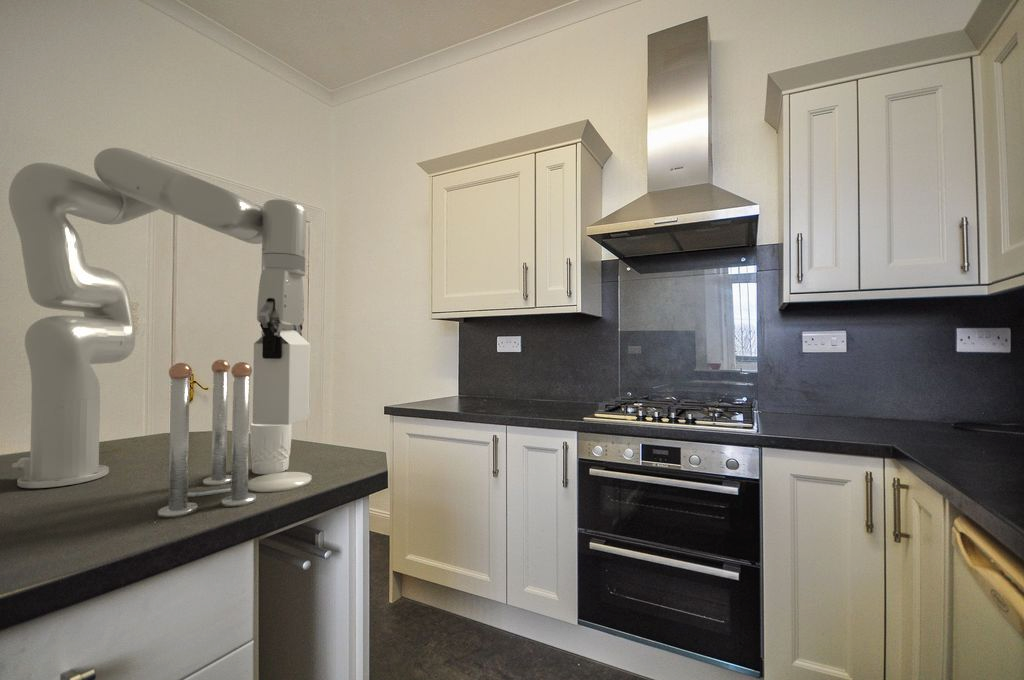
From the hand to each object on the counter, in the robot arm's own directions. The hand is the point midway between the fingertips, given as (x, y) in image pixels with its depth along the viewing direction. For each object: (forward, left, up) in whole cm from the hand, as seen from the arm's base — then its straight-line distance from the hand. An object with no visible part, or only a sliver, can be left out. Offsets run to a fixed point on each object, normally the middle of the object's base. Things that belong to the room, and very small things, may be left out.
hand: (282, 357), depth 87 cm
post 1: (-9, -15, -24) cm, 30 cm away
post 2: (-12, +1, -24) cm, 27 cm away
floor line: (-10, -5, -24) cm, 26 cm away
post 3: (-2, -10, -24) cm, 26 cm away
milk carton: (0, 0, -13) cm, 13 cm away
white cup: (-6, +9, -24) cm, 27 cm away
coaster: (0, 0, -24) cm, 24 cm away
